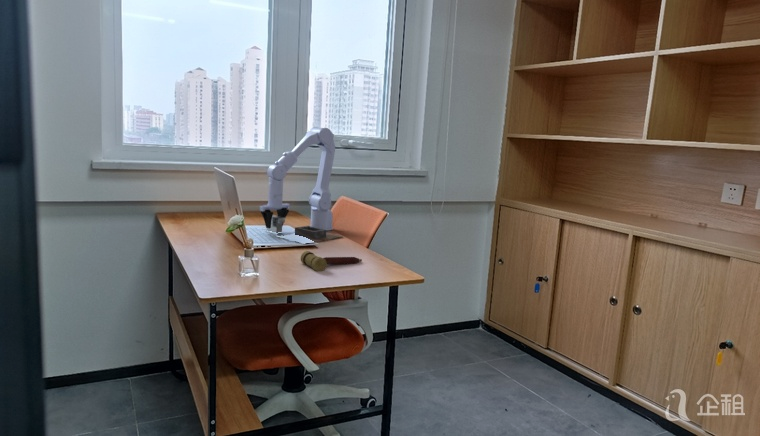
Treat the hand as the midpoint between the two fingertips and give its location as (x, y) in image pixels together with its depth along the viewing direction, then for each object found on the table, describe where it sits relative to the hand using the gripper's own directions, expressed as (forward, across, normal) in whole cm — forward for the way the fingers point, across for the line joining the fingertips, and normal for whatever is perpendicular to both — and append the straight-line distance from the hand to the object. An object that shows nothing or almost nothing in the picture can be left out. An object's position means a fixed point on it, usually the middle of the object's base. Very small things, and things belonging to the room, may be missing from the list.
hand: (274, 227), depth 224 cm
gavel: (+3, +17, +50) cm, 53 cm away
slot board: (+2, -6, +15) cm, 16 cm away
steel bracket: (+2, 0, 0) cm, 2 cm away
